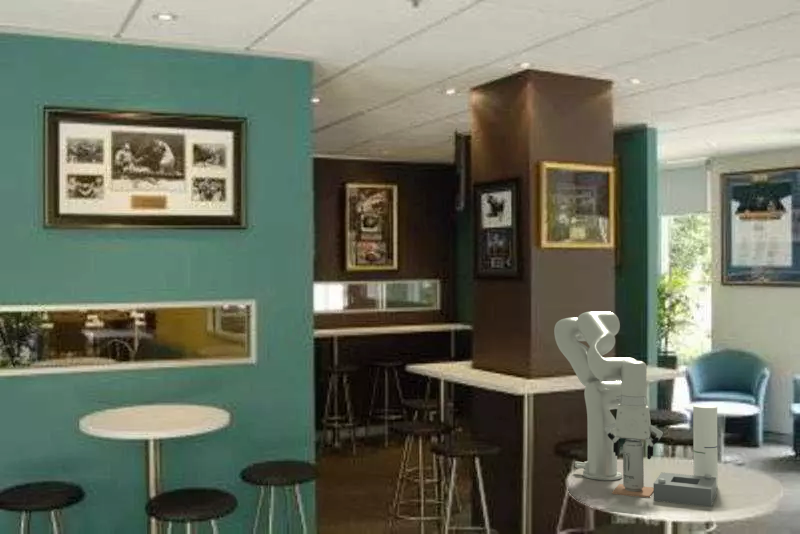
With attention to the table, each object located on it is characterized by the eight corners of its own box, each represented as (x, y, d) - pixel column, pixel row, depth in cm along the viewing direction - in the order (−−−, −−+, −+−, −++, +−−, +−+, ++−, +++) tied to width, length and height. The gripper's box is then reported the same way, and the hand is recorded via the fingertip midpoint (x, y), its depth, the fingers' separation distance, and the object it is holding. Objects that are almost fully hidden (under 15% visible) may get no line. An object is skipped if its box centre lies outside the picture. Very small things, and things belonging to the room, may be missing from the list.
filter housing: (653, 500, 247) (653, 480, 247) (661, 488, 261) (661, 469, 261) (711, 506, 240) (711, 485, 240) (716, 494, 254) (716, 474, 255)
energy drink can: (619, 488, 259) (618, 439, 259) (635, 486, 261) (634, 438, 261) (631, 492, 253) (631, 443, 253) (647, 490, 256) (647, 441, 256)
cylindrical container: (719, 488, 261) (719, 408, 261) (695, 487, 262) (695, 407, 263) (715, 483, 268) (715, 405, 268) (692, 482, 269) (691, 404, 270)
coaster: (612, 493, 254) (612, 491, 254) (619, 485, 264) (619, 483, 264) (649, 497, 250) (649, 495, 250) (655, 489, 260) (655, 487, 260)
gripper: (602, 400, 258) (602, 456, 258) (660, 405, 251) (660, 462, 251) (607, 397, 265) (607, 451, 265) (664, 401, 257) (664, 457, 257)
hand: (633, 456), depth 258 cm, fingers open, 9 cm apart
